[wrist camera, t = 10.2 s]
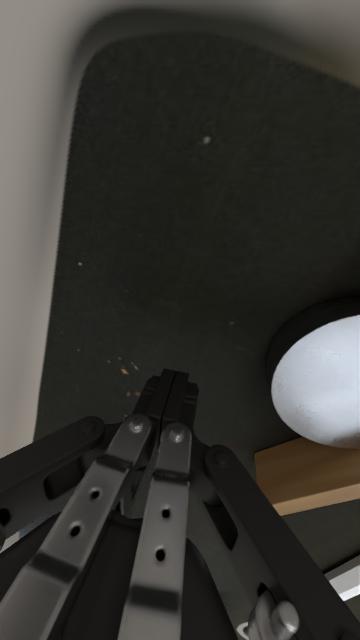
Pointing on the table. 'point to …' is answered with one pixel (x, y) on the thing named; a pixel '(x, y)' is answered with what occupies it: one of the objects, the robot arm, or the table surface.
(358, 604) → the table surface
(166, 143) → the table surface
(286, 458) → the corner fence
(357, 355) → the white-topped round disc
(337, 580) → the white pencil
